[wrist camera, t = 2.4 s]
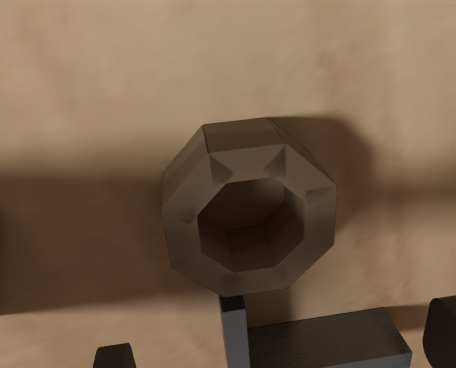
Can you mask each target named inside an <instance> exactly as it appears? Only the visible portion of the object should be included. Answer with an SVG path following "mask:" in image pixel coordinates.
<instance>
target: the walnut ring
mask: <svg viewBox="0 0 456 368" xmlns="http://www.w3.org/2000/svg"><path fill="white" fill-rule="evenodd" d="M269 177H273V178H275V179H276V180H277V181H279V182H280V183H281V184H282V185H284V190H285V201H284V202H283V203H282V204H281V205H280V206H279V207H278V208H277V209H276V210H275V212H274V213H273V214H272V215H271V216H270V217H269V218H268V219H267V220H266V221H265V222H264V223H263V224H262V225H261V226H257V227H250V228H243V229H235V230H228V231H225V230H223V229H222V228H220V227H219V226H217V225H216V224H214V223H212V222H211V221H209V220H208V219H206V218H205V217H203V216H202V215H200V214H199V213H200V212H201V210H202V209H203V208H204V207H205V206H206V205H207V204H208V203H209V202H210V200H211V199H212V198H213V197H214V196H215V195H216V194H217V193H218V192H219V190H220V189H221V188H222V187H223V186H224V185H225V184H226V183H230V182H238V181H246V180H254V179H262V178H269ZM336 197H337V185H336V184H335V182H334V181H333V180H332V179H331V178H330V176H329V175H328V174H327V173H326V172H325V170H324V169H323V168H322V167H321V166H320V164H319V163H318V162H317V161H316V160H315V158H314V157H313V156H312V155H311V154H310V153H309V152H308V151H307V150H305V149H304V148H303V147H302V146H301V145H299V144H298V143H297V142H296V141H295V140H294V139H292V138H291V137H290V136H289V135H288V134H286V133H285V132H284V131H283V130H282V129H280V128H279V127H278V126H277V125H276V124H274V123H273V122H272V121H271V120H270V119H268V118H267V117H266V118H258V119H249V120H241V121H232V122H223V123H215V124H206V125H203V126H201V127H200V128H199V130H198V131H197V132H196V133H195V135H194V136H193V137H192V138H191V139H190V141H189V142H188V143H187V144H186V145H185V147H184V148H183V149H182V150H181V151H180V153H179V154H178V155H177V156H176V158H175V159H174V160H173V161H172V162H171V164H170V165H169V166H168V167H167V168H166V170H165V171H164V172H163V182H162V199H161V212H162V218H163V223H164V229H165V234H166V239H167V245H168V250H169V256H170V261H171V266H172V268H173V269H174V270H176V271H178V272H180V273H182V274H183V275H185V276H187V277H189V278H190V279H192V280H194V281H196V282H198V283H199V284H201V285H203V286H205V287H206V288H208V289H210V290H212V291H214V292H215V293H217V294H219V295H221V296H222V297H232V296H238V295H245V294H251V293H258V292H265V291H271V290H278V289H285V288H287V287H289V286H291V285H292V284H293V283H294V282H295V281H296V280H297V279H298V278H299V277H300V276H301V275H302V274H303V273H304V272H305V271H306V270H308V269H309V268H310V267H311V266H312V265H313V264H314V263H315V262H316V261H317V260H318V259H319V258H320V257H321V256H322V255H323V254H325V253H326V252H327V251H328V250H329V249H330V248H331V247H332V246H333V244H334V233H335V215H336Z"/></svg>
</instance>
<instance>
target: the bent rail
mask: <svg viewBox="0 0 456 368" xmlns="http://www.w3.org/2000/svg"><path fill="white" fill-rule="evenodd" d="M218 296H219V304H220V313H221V321H222V329H223V338H224V346H225V353H226V360H227V367H228V368H409V367H410V362H411V357H412V351H411V349H410V348H409V346H408V345H407V343H406V342H405V340H404V339H403V337H402V336H401V334H400V333H399V331H398V330H397V328H396V327H395V325H394V323H393V322H392V320H391V319H390V317H389V316H388V314H387V313H386V311H385V310H384V308H377V309H371V310H365V311H358V312H352V313H346V314H339V315H333V316H326V317H320V318H314V319H307V320H301V321H295V322H288V323H282V324H276V325H269V326H263V327H256V328H250V329H247V322H246V310H245V305H244V300H243V296H242V295H238V296H232V297H222V296H221V295H219V294H218Z"/></svg>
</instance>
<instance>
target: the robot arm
mask: <svg viewBox="0 0 456 368" xmlns="http://www.w3.org/2000/svg"><path fill="white" fill-rule="evenodd" d="M423 348H424V352H425V355H426V357H427V359H428V361H429V363H430V365H431V366H432V368H456V295H455V296H448V297H441V298H434V299H432V300H431V302H430V305H429V310H428V315H427V320H426V325H425V330H424V335H423ZM93 368H136V364H135V361H134V357H133V353H132V349H131V346H130V344H129V343H124V344H117V345H110V346H104V347H99V348H98V349H97V352H96V355H95V360H94V364H93Z"/></svg>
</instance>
